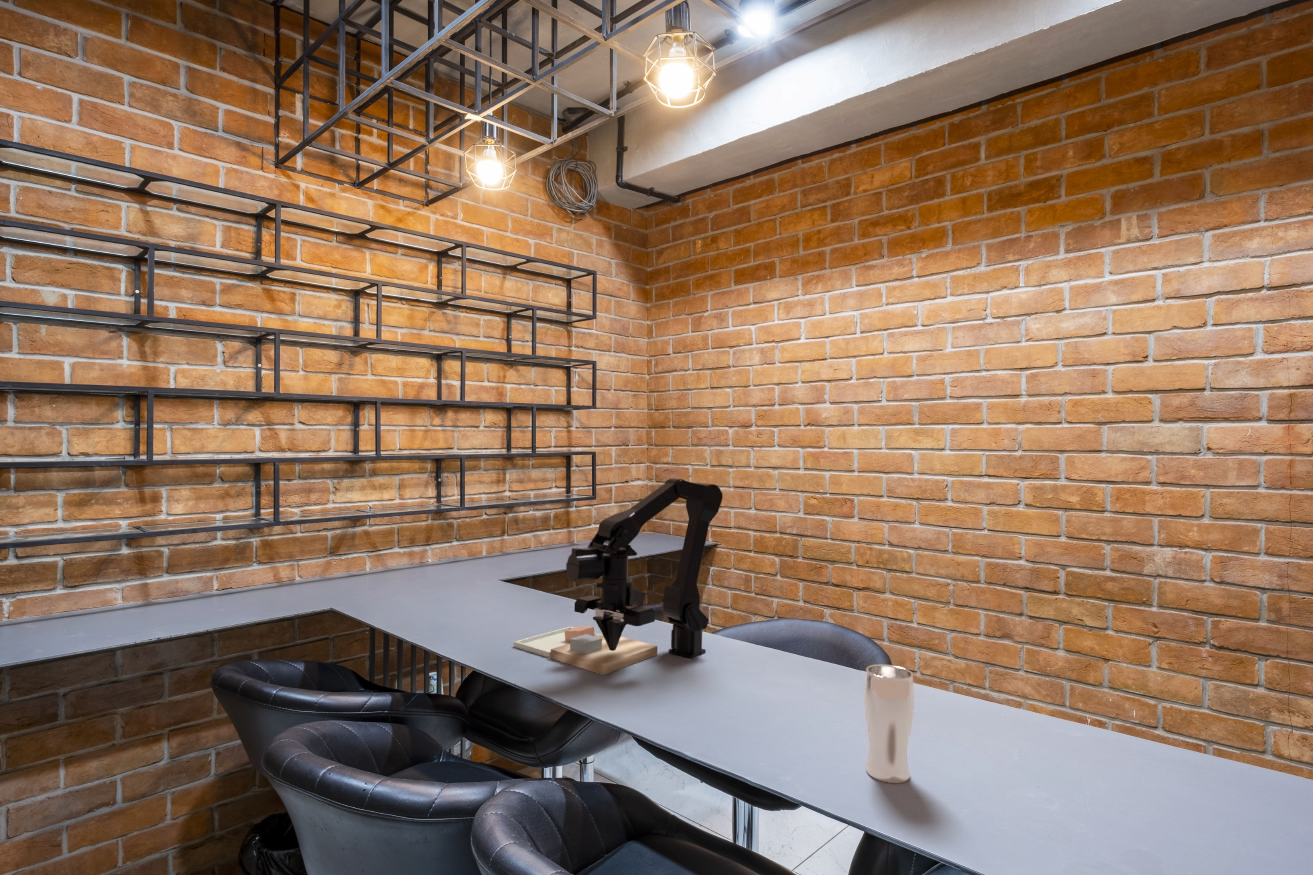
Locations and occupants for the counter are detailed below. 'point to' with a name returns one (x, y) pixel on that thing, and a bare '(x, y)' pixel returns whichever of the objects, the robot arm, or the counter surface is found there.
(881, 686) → the beer glass
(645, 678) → the counter surface
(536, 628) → the counter surface
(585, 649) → the grey box
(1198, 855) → the counter surface
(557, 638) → the tray
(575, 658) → the birch board
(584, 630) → the terracotta block
